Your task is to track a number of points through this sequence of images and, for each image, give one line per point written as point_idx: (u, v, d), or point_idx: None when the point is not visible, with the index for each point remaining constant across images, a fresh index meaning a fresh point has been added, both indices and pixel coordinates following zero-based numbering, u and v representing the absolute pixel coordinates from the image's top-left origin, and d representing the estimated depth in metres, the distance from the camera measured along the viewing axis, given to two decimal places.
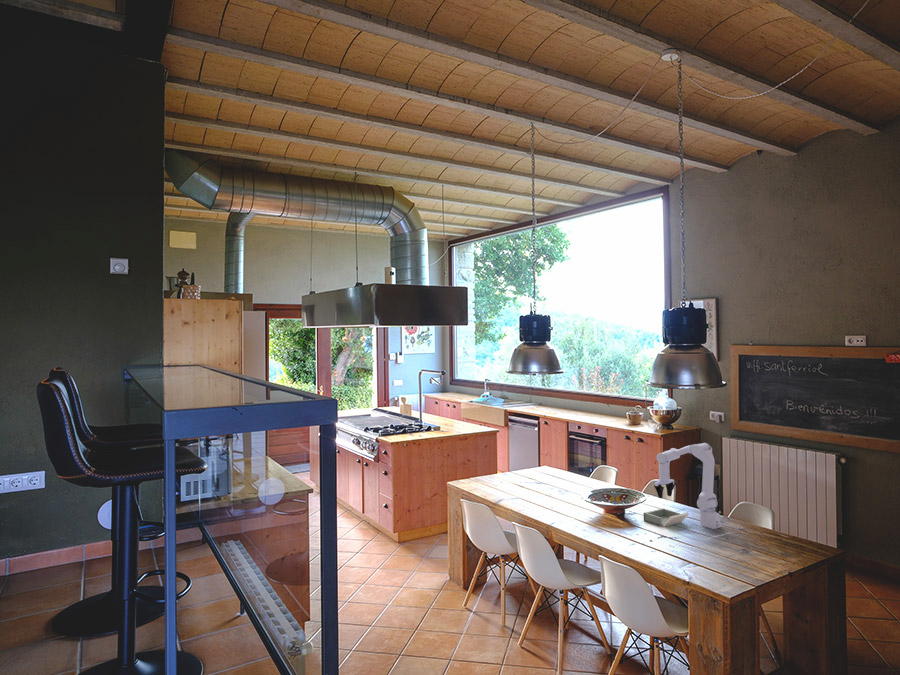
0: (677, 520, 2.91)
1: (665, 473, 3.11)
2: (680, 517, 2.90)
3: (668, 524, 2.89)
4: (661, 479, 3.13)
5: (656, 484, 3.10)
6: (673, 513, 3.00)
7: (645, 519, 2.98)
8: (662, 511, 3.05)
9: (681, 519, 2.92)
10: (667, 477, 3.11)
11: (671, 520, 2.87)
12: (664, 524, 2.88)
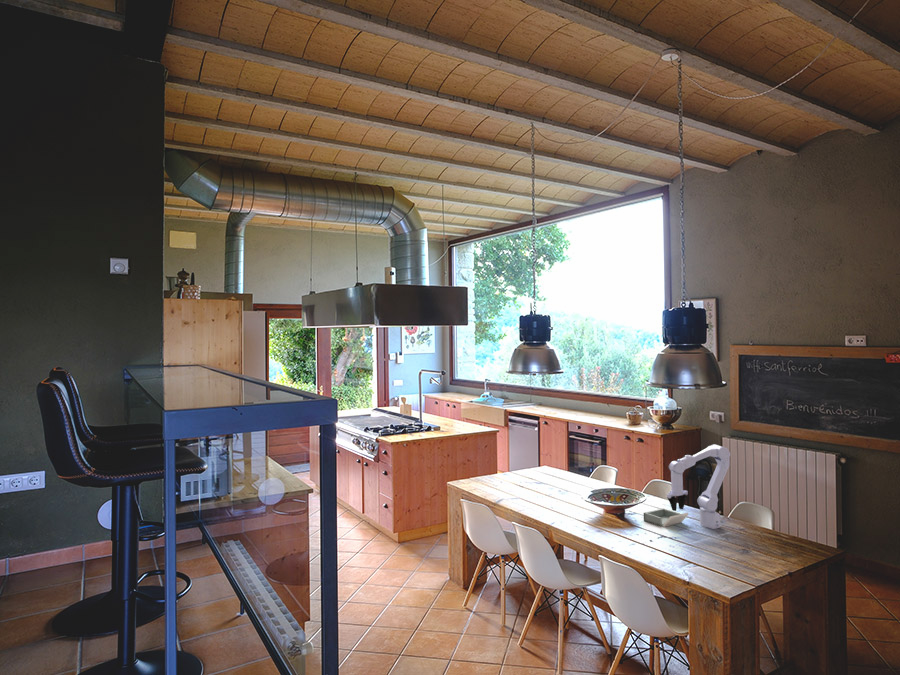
0: (677, 520, 2.91)
1: (682, 483, 2.88)
2: (680, 517, 2.90)
3: (668, 524, 2.89)
4: (674, 490, 2.88)
5: (668, 496, 2.86)
6: (673, 513, 3.00)
7: (645, 519, 2.98)
8: (662, 511, 3.05)
9: (681, 519, 2.92)
10: (680, 488, 2.87)
11: (671, 520, 2.87)
12: (664, 524, 2.88)
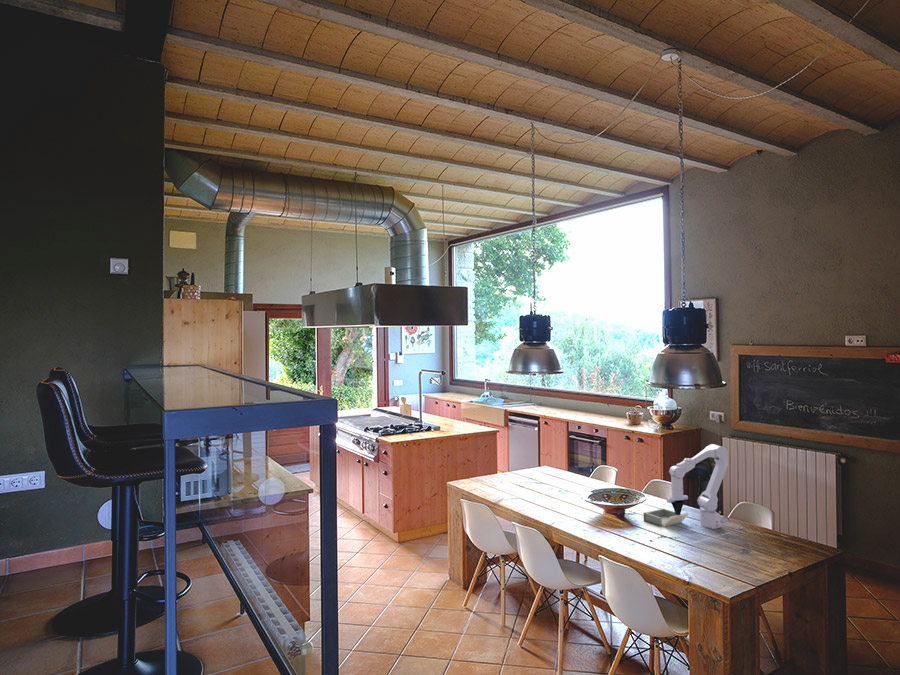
0: (677, 520, 2.91)
1: (682, 488, 2.88)
2: (680, 517, 2.90)
3: (668, 524, 2.89)
4: (674, 495, 2.88)
5: (668, 501, 2.86)
6: (673, 513, 3.00)
7: (645, 519, 2.98)
8: (662, 511, 3.05)
9: (681, 519, 2.92)
10: (680, 493, 2.87)
11: (671, 520, 2.87)
12: (664, 524, 2.88)
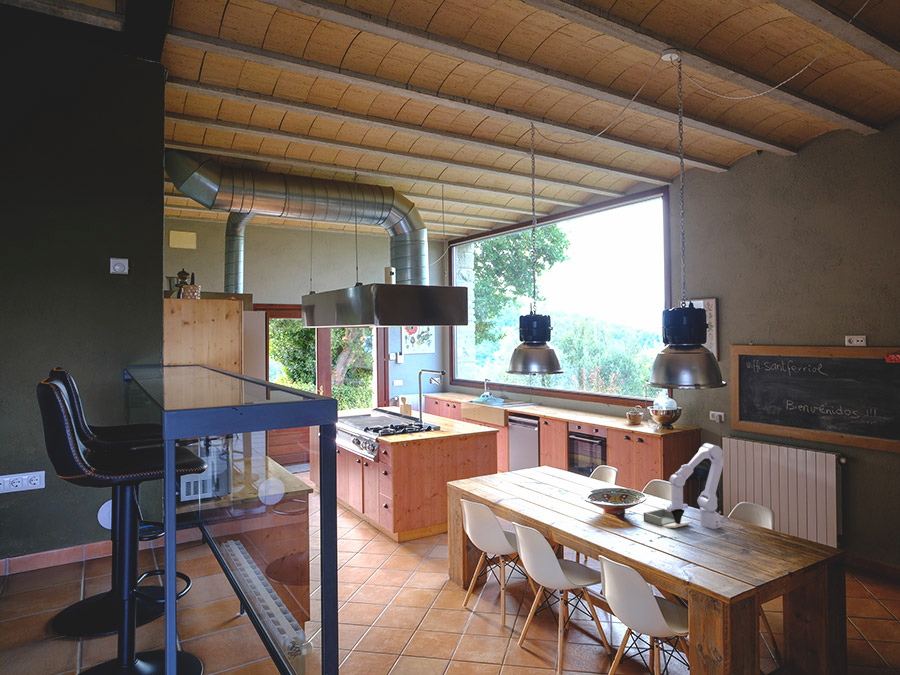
0: None
1: (682, 497, 2.88)
2: None
3: None
4: (674, 504, 2.88)
5: (668, 509, 2.86)
6: None
7: (645, 519, 2.98)
8: (662, 511, 3.05)
9: None
10: (680, 502, 2.87)
11: None
12: (665, 526, 2.88)
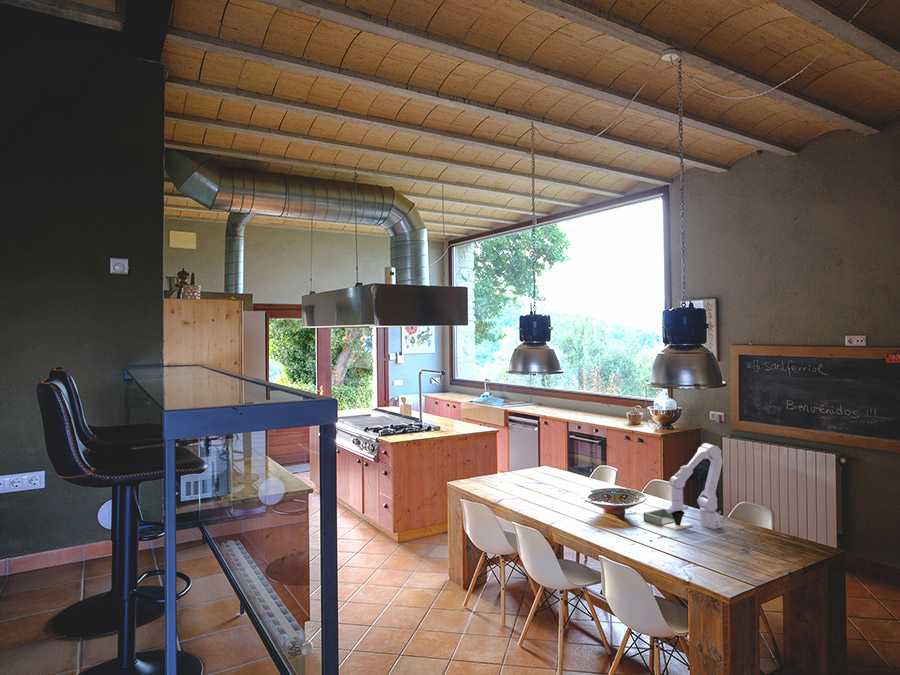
0: None
1: (682, 498, 2.88)
2: None
3: None
4: (674, 505, 2.88)
5: (669, 511, 2.86)
6: None
7: (645, 519, 2.98)
8: (662, 511, 3.05)
9: None
10: (680, 503, 2.87)
11: None
12: None
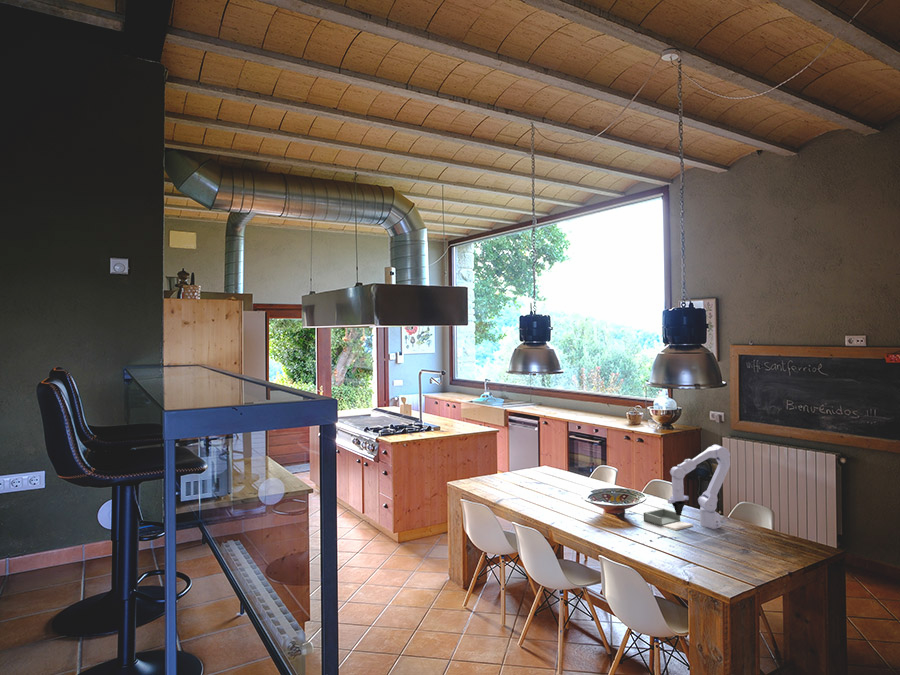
0: None
1: (683, 489, 2.90)
2: None
3: None
4: (675, 496, 2.90)
5: (669, 501, 2.88)
6: (673, 513, 3.00)
7: (645, 519, 2.98)
8: (662, 511, 3.05)
9: None
10: (681, 494, 2.89)
11: None
12: None
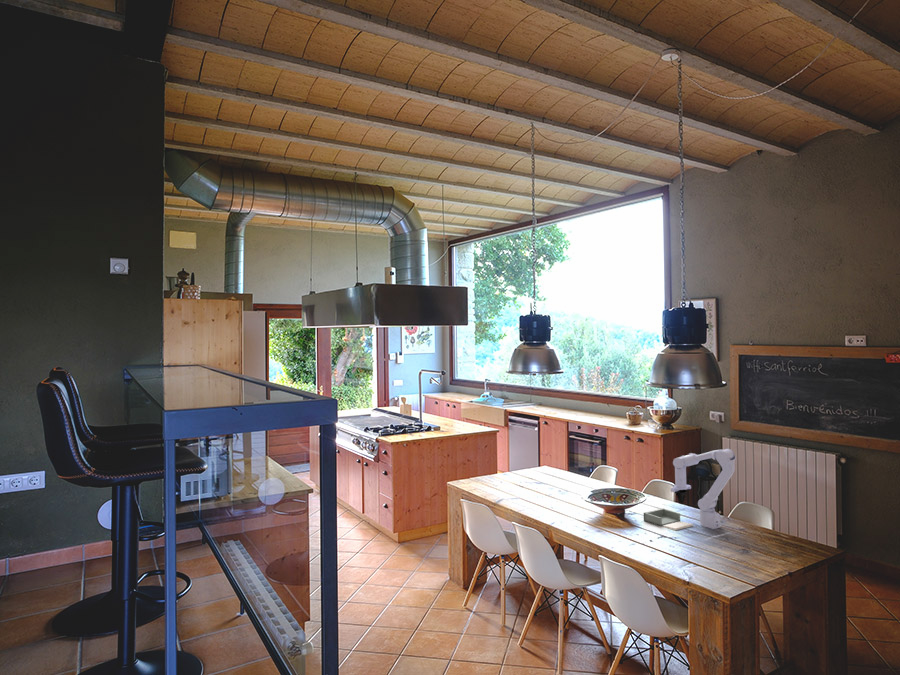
0: None
1: (683, 479, 2.99)
2: None
3: None
4: (677, 485, 3.00)
5: (672, 490, 2.98)
6: (673, 513, 3.00)
7: (645, 519, 2.98)
8: (662, 511, 3.05)
9: None
10: (684, 483, 2.99)
11: None
12: None
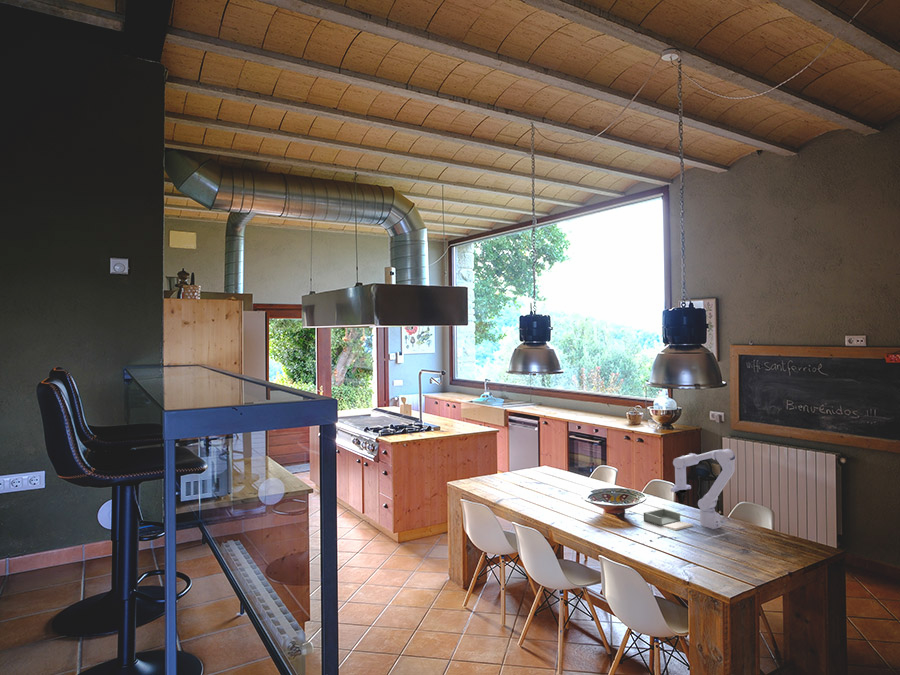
0: None
1: (683, 479, 2.99)
2: None
3: None
4: (677, 485, 3.00)
5: (672, 490, 2.98)
6: (673, 513, 3.00)
7: (645, 519, 2.98)
8: (662, 511, 3.05)
9: None
10: (684, 483, 2.99)
11: None
12: None
